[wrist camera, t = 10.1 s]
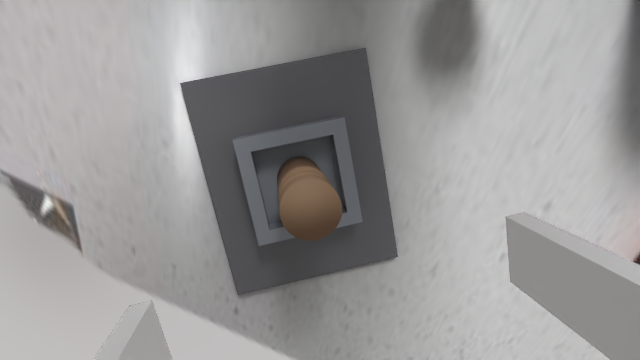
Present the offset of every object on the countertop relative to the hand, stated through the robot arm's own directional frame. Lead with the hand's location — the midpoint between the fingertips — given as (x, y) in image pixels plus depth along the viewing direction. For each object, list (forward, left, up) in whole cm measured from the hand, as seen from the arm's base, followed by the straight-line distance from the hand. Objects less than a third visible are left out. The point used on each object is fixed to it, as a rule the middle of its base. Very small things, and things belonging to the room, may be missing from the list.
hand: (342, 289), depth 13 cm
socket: (0, 0, -21) cm, 21 cm away
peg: (0, 0, -20) cm, 20 cm away
